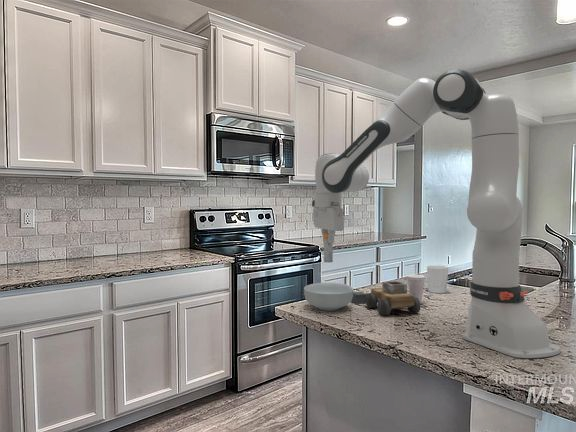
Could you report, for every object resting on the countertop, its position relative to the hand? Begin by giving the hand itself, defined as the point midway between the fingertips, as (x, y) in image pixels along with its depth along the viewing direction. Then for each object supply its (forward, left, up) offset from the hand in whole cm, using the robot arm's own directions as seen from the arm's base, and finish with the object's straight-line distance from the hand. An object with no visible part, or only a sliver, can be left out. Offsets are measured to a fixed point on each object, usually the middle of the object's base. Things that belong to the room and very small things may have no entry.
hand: (328, 242), depth 137 cm
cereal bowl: (0, 0, -23) cm, 23 cm away
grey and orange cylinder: (0, 0, -7) cm, 7 cm away
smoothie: (-3, -32, -23) cm, 39 cm away
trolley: (-9, -19, -22) cm, 31 cm away
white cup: (+10, -50, -23) cm, 56 cm away
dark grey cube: (+3, -13, -23) cm, 26 cm away
